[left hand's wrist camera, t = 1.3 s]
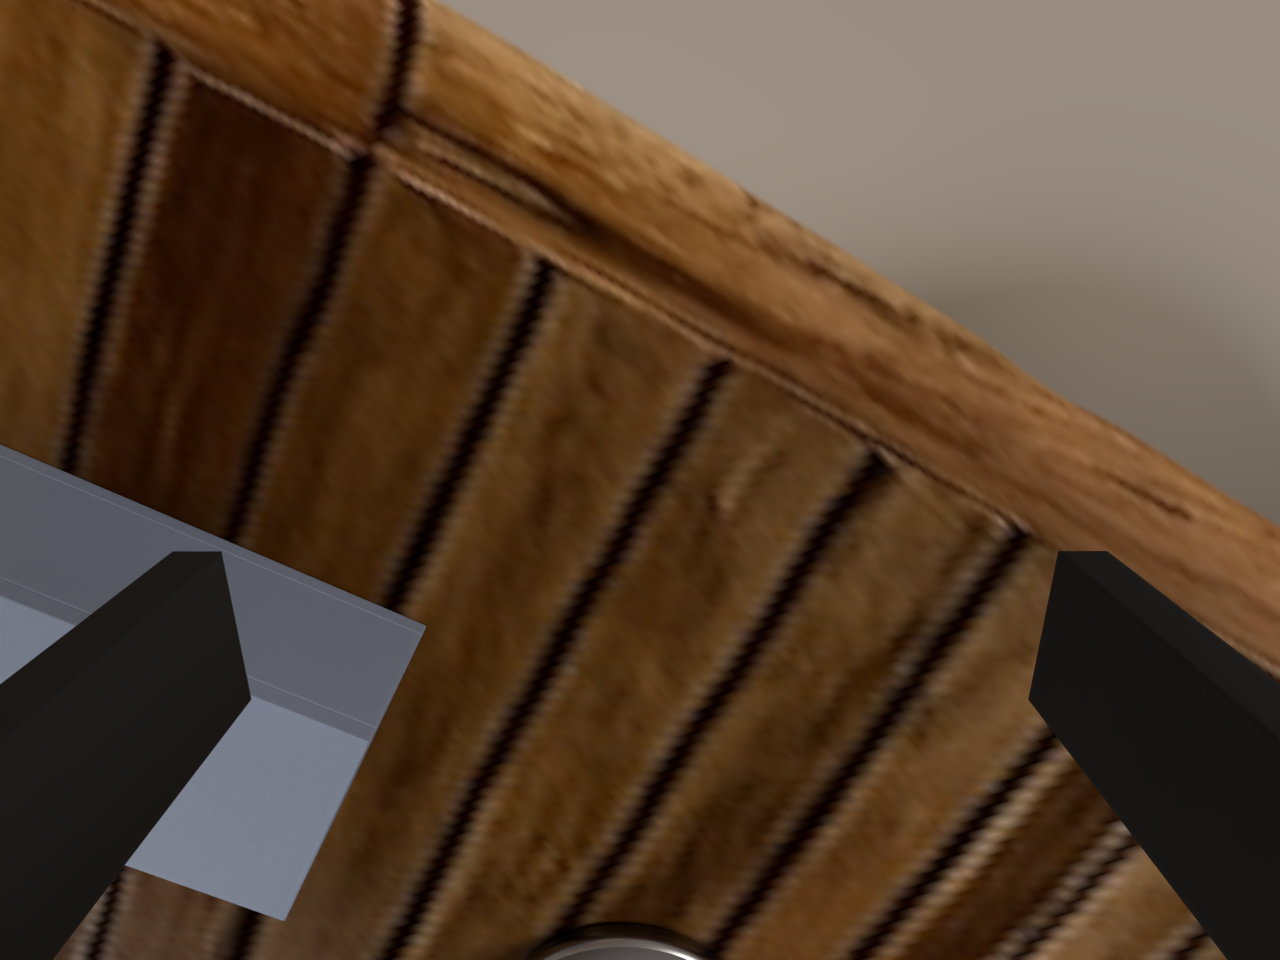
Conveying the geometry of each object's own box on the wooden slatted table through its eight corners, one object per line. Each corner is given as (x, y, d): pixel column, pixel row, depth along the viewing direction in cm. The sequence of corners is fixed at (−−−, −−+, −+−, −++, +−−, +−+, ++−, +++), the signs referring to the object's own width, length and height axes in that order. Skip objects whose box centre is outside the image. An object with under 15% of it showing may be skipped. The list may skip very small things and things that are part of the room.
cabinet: (-43, 625, 40) (-226, 742, 32) (-1, 443, 37) (-193, 520, 28) (353, 779, 44) (284, 922, 35) (427, 625, 40) (369, 742, 32)
